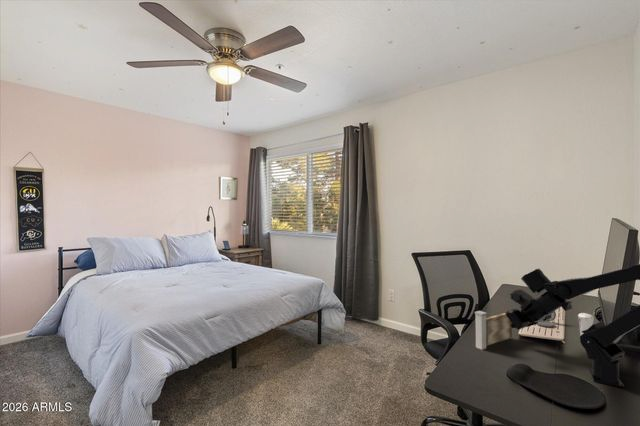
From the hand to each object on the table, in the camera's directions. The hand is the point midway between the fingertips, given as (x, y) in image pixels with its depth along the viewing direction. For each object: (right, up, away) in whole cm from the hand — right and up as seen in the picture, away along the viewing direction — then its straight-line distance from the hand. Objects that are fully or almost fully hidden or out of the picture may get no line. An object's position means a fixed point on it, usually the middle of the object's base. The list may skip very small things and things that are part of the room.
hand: (512, 326), depth 113 cm
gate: (-4, -6, +2) cm, 8 cm away
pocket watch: (+27, -6, +20) cm, 34 cm away
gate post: (-13, -7, -2) cm, 14 cm away
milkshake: (+33, -6, +6) cm, 34 cm away
